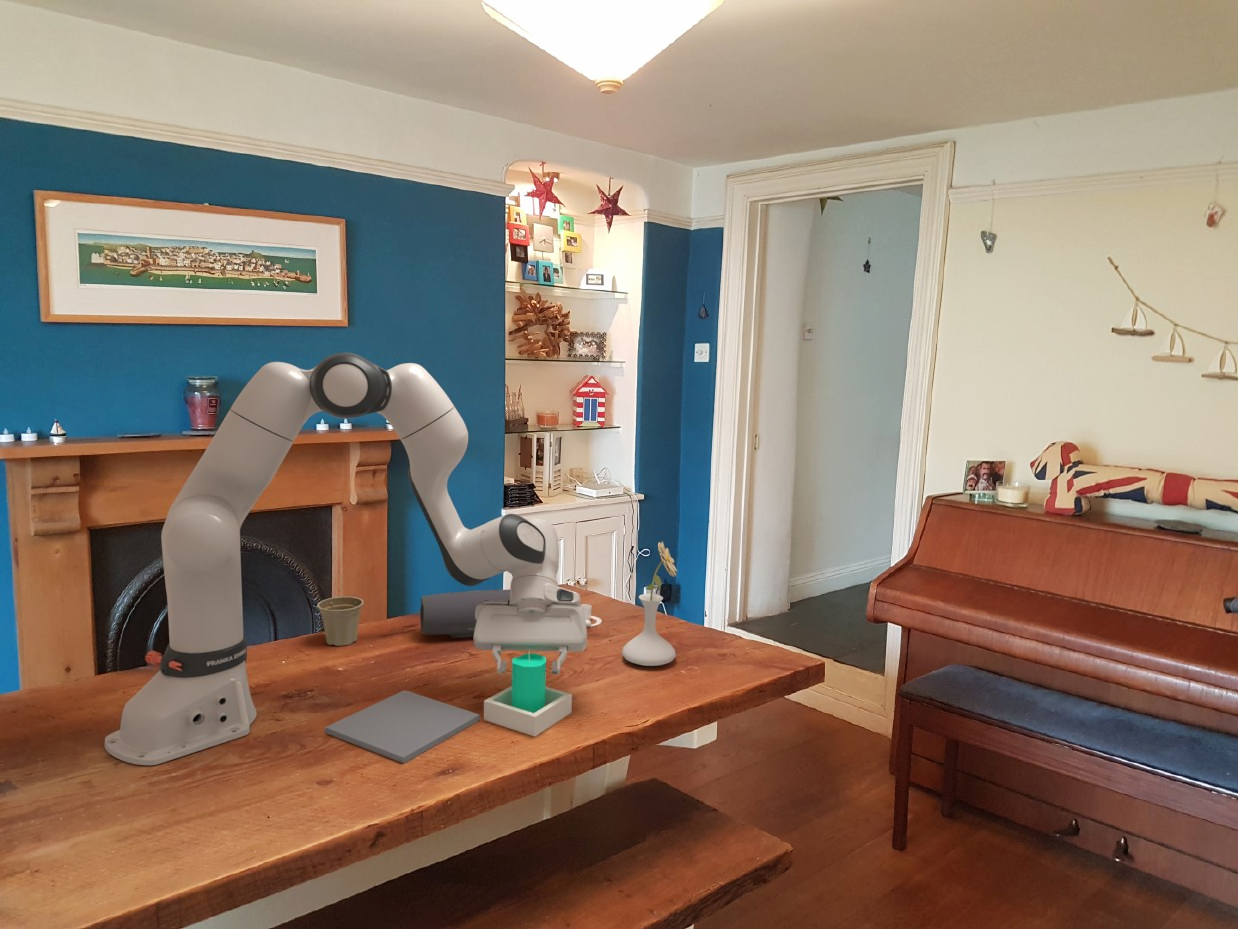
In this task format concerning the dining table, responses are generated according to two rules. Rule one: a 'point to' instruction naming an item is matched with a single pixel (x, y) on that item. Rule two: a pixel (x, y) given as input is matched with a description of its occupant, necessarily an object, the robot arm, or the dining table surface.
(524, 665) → the candle
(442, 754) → the dining table surface
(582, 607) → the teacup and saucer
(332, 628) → the flower pot
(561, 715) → the square frame
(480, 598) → the bluetooth speaker
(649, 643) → the flower in vase
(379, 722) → the slate tile
